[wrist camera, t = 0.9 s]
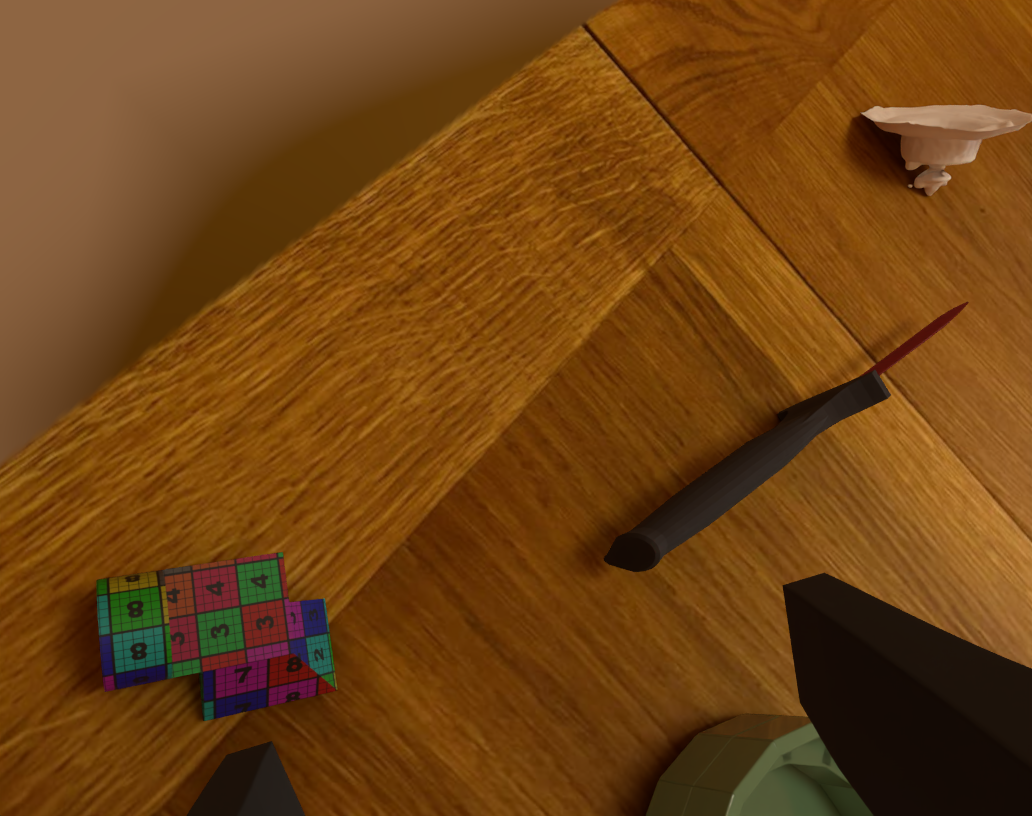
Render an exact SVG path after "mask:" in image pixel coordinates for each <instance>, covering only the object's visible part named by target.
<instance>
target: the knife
mask: <svg viewBox="0 0 1032 816" xmlns="http://www.w3.org/2000/svg"><path fill="white" fill-rule="evenodd" d="M967 304H968V302H966V303H964V304H961V305H959V306H957V307H955V308H953V309H951V310H950V311H948V312H946V313H945V314H943V315H941V316H940V317H938V318H937V319H936V320H934V321H933V322H932V323H930V324H929V325H927V326H926V327H925V328H923V329H922V330H921V331H919V332H918V333H917V334H915V335H914V336H913V337H911V338H910V339H909V340H907V341H906V342H905V343H903V344H902V345H901V346H900V347H898V348H897V349H896V350H894V351H893V352H892V353H890V354H889V355H888V356H886V357H885V358H884V359H882V360H881V361H880V362H878V363H877V364H876V365H874V366H873V367H872V368H870V369H869V370H868V371H866V372H865V373H864V374H862V375H861V376H860V377H858V378H855V379H853V380H851V381H849V382H847V383H844V384H842V385H840V386H837V387H835V388H832V389H830V390H828V391H825V392H823V393H820V394H818V395H816V396H813V397H811V398H809V399H806V400H804V401H802V402H800V403H798V404H795V405H793V406H791V407H789V408H787V409H785V410H782V411H780V412H779V413H778V414H777V415H778V416H779V418H780V420H781V422H780V423H779V424H778V425H777V426H776V427H775V428H774V429H772V430H770V431H768V432H766V433H764V434H762V435H760V436H758V437H756V438H754V439H752V440H750V441H748V442H747V443H745V444H744V445H742V446H741V447H740V448H738V449H737V450H735V451H734V452H733V453H731V454H730V455H729V456H727V457H726V458H724V459H723V460H722V461H720V462H719V463H718V464H716V465H715V466H713V467H712V468H711V469H709V470H708V471H707V472H705V473H704V474H702V475H701V476H700V477H698V478H697V479H696V480H694V481H693V482H691V483H690V484H689V485H687V486H686V487H685V488H683V489H682V490H680V491H679V492H678V493H676V494H675V495H674V496H672V497H671V498H670V499H669V500H667V501H666V502H665V503H664V504H663V505H661V506H660V507H659V508H658V509H657V510H655V511H654V512H653V513H652V514H650V515H649V516H648V517H647V518H646V519H644V520H643V521H642V522H641V523H640V524H638V525H637V526H636V527H635V528H633V529H632V530H631V531H629V532H627V533H625V534H622V535H620V536H618V537H616V539H615V541H614V542H613V544H612V546H611V548H610V550H609V552H608V553H607V555H606V556H605V557H604V561H605V562H606V563H608V564H609V565H613V566H616V567H619V568H622V569H626V570H630V571H633V572H640V571H647V570H649V569H652V568H653V567H655V566H656V565H657V564H658V563H659V561H660V560H661V559H662V557H663V556H664V555H665V554H667V553H668V552H670V551H671V550H673V549H674V548H676V547H677V546H679V545H680V544H682V543H683V542H685V541H686V540H688V539H689V538H691V537H692V536H694V535H695V534H697V533H698V532H700V531H701V530H702V529H704V528H705V527H707V526H708V525H710V524H711V523H712V522H714V521H715V520H716V519H718V518H719V517H720V516H721V515H723V514H724V513H725V512H727V511H728V510H729V509H730V508H732V507H733V506H734V505H736V504H737V503H738V502H739V501H741V500H742V499H743V498H745V497H746V496H747V495H748V494H750V493H751V492H752V491H754V490H755V489H756V488H757V487H759V486H760V485H761V484H763V483H764V482H765V481H766V480H768V479H769V478H770V477H772V476H773V475H774V474H775V473H777V472H778V471H779V470H781V469H782V468H783V467H784V466H785V465H787V464H788V463H789V462H790V461H791V460H792V459H793V458H794V457H795V456H796V455H797V454H798V453H799V452H800V451H801V450H802V449H803V448H804V447H805V446H806V445H807V444H808V443H809V442H810V441H811V440H812V439H813V438H814V437H815V436H816V435H818V434H819V433H821V432H823V431H824V430H826V429H827V428H829V427H831V426H832V425H834V424H836V423H837V422H839V421H841V420H843V419H845V418H847V417H849V416H851V415H853V414H856V413H858V412H860V411H862V410H864V409H867V408H869V407H871V406H873V405H875V404H877V403H879V402H881V401H883V400H885V399H888V398H889V397H890V395H891V394H890V393H889V391H888V389H887V388H886V386H885V385H884V383H883V381H882V380H881V378H880V375H881V374H882V373H884V372H885V371H886V370H888V369H889V368H890V367H892V366H893V365H894V364H896V363H897V362H898V361H900V360H901V359H902V358H904V357H905V356H906V355H908V354H909V353H910V352H912V351H913V350H914V349H916V348H917V347H918V346H920V345H921V344H922V343H924V342H925V341H926V340H928V339H929V338H930V337H932V336H933V335H934V334H935V333H937V332H938V331H939V330H941V329H942V328H943V327H945V326H946V325H947V324H948V323H949V322H950V321H951V320H952V319H953V318H954V317H955V316H956V315H957V314H958V313H959V312H960V311H961V310H962V309H963V308H964V307H965V306H966V305H967Z"/></svg>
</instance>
